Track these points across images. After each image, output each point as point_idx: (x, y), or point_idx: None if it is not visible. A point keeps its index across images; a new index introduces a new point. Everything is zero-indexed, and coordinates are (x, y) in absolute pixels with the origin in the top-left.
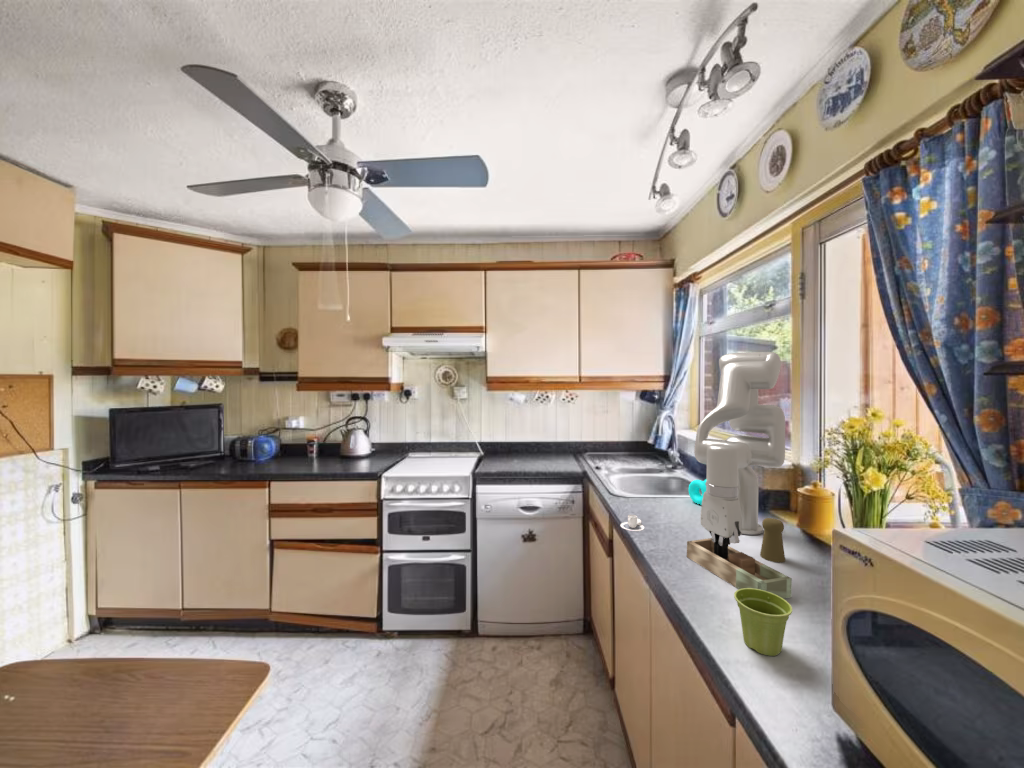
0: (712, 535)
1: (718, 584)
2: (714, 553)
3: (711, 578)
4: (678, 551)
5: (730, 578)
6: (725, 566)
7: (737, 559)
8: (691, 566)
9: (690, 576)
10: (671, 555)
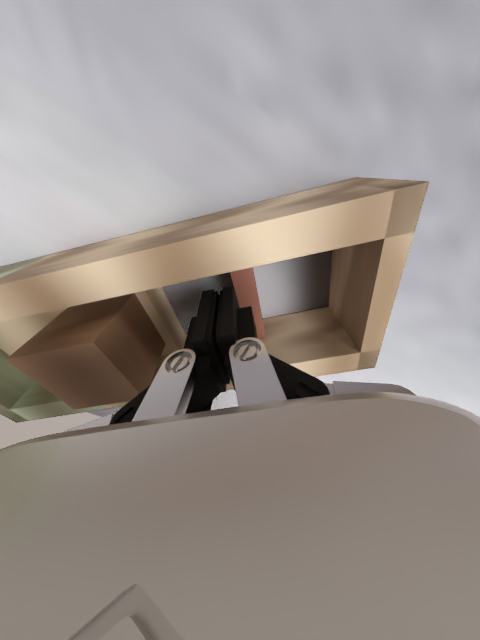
0: (262, 374)
1: (49, 183)
2: (227, 294)
3: (110, 181)
4: (436, 162)
5: (60, 256)
6: (56, 266)
7: (42, 348)
8: (245, 132)
9: (94, 6)
10: (426, 49)
